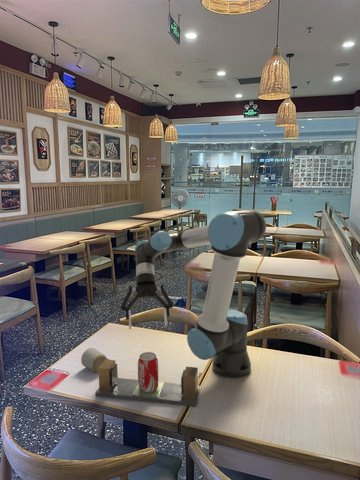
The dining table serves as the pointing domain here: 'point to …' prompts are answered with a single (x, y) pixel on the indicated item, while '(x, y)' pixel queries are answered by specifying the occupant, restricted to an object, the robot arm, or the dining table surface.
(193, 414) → the dining table surface
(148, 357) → the soda can
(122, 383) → the rail
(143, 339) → the dining table surface
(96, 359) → the ceramic mug
